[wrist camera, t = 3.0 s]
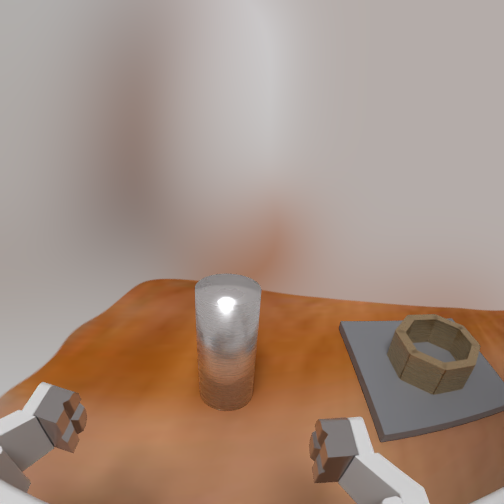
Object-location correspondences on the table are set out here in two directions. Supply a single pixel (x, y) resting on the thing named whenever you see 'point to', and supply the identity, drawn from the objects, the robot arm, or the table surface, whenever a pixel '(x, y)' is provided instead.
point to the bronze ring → (426, 367)
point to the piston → (227, 339)
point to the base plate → (408, 396)
